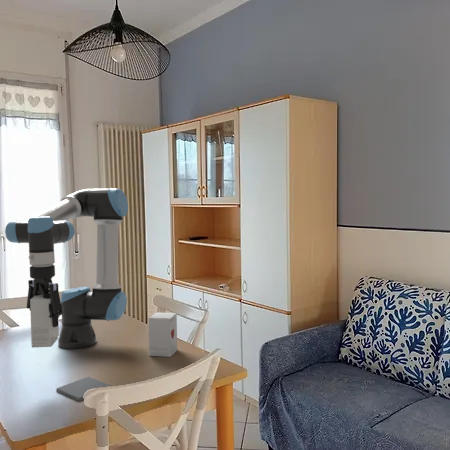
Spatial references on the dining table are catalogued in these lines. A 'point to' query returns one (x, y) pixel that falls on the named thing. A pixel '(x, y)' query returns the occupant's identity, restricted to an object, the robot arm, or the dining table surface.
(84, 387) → the slate mat
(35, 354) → the dining table surface
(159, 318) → the supplement box
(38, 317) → the skincare box
